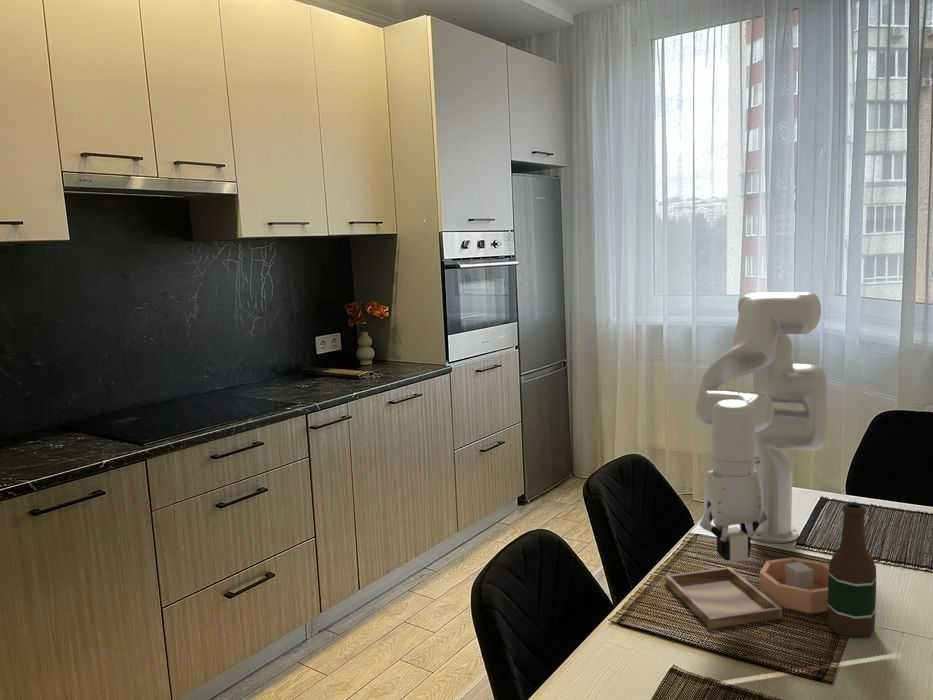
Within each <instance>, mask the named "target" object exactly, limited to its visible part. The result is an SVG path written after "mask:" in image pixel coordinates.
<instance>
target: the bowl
mask: <svg viewBox="0 0 933 700" xmlns="http://www.w3.org/2000/svg"><path fill="white" fill-rule="evenodd" d="M795 562H801V563H803V564H805V565H806V566H808V567H809V568H811V569H813V590H808V589H803V588H798V587H794V586H789V585H785V564H789V563H795ZM828 572H829V565H828V564H826V563H823V562H819V561H814V560H808V559H802V558H797V557H787V558H779V559H778V558H777V559H772V560H766V561H765V563H764V564H763V566H762V568H761V569H760V571H759V591H761V592H762V593H763V594H764V595H766V596H767V597H768V598H769V599H771V600H772V601H773V602H774V603H776V604H777V605H778V606H780V607H781V608H785V609H790V610H794V611H797V612H798V611H799V612H804V613H807V614H816V613H817V614H818V613H824V612H827V611H828Z"/></svg>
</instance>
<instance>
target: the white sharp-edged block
mask: <svg viewBox="0 0 933 700" xmlns="http://www.w3.org/2000/svg"><path fill="white" fill-rule="evenodd" d="M727 540H728V541H729V560H728V561H729V562H730V563H737V562H742V561H748V560H749V557H748V535H747V534H746V533H744V532H743V531H741V530H740V527H738V526H734V527H728V534H727Z"/></svg>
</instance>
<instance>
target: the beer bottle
mask: <svg viewBox="0 0 933 700" xmlns="http://www.w3.org/2000/svg"><path fill="white" fill-rule="evenodd" d="M842 512H843V520H842V531H841V532H842V533H841V540H840V544H839V547H838V549H837V550H836V551H835V552H834V553H833V555H832V556H831V559H830V561H829V564H828V566H829V572H828V611H826V612H827V613H826V615H827V617H826V618H827V626H828V628H830V629H831V630H832V631H833V632H834V633H835V634H837V635H840V636H843V637H847V638H850V639H853V640H856V639H857V640H859V639H868V638H871V637H872V636H873V633H874V632H875V625H876V605H877V604H876V603H877V601H876V599H877V567H876V564H875V561H874V559H873V557H872V556H871V554H870V552H868V549H867V544H866V533H865V532H866V530H865V515H866V513H867V511H866V507H865V506H863V505H862V504H858V503H845V504H844V505H843V507H842Z"/></svg>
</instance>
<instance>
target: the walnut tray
mask: <svg viewBox="0 0 933 700" xmlns="http://www.w3.org/2000/svg"><path fill="white" fill-rule="evenodd" d="M664 576H665V577H664V578H665V579H664V582H665V583H664V584H665V585H666V586H667V587H668V588H669V589H670V590H671V591H672V592H673V593H674V594H675V595H676V596H677V597H678V598H679V599H680V600H681V601H682V602H683V603H684V604H685V605H686V606H687V607H688V608H689V609H690V610H691V611H692V612H693V613H694V614H695V616H697V617H698V618H699V619H700V620H701V621H702V622H703V623H704V624H705V625H706V626H707V627H708V628H709V629H717V628H725V627H729V626H730V627H732V626H737V625H745V624H749V623H750V624H751V623H758V622H765V621H771V620H778V619H783V607H780V606H778V605H777V604H776V603H774V602H773V601H772V600H771V599H769V598H768V597H767V596H766V595H764V594H763V593H762V592H761V591H760V589H758V588H757V587H756V586H755V585H753V584H752V583H751V582H749V581H748V580H747V579H746V578H744V577H743V576H742V575H740V574H739V573H738V572H737V571H735V570H734V569H733V568H731V566H727V567H719V568H711V569H705V570H695V571H688V572H680V573H674V574H666V575H664Z"/></svg>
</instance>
